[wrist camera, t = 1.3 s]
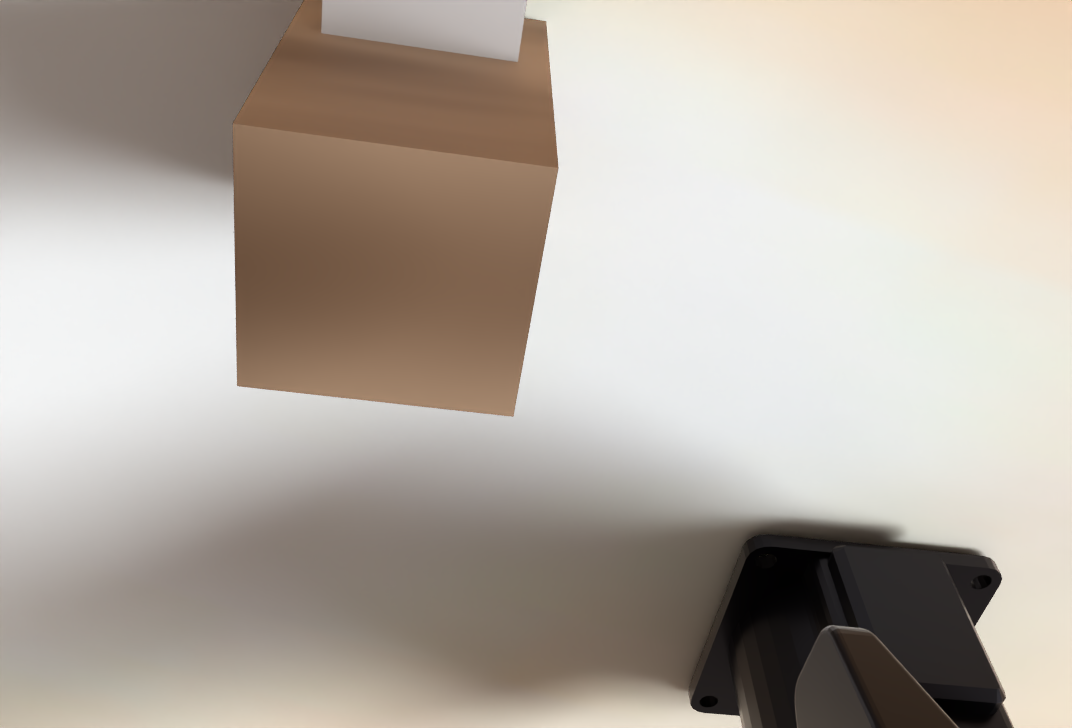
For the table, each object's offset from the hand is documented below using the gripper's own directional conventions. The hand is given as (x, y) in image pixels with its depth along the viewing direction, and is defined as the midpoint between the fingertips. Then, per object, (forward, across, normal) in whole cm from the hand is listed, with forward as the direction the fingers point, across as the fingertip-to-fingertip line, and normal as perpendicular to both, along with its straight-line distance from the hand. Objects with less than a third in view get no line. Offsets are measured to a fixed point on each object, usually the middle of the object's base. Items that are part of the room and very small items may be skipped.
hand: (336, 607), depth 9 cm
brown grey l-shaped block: (+12, 0, -4) cm, 12 cm away
